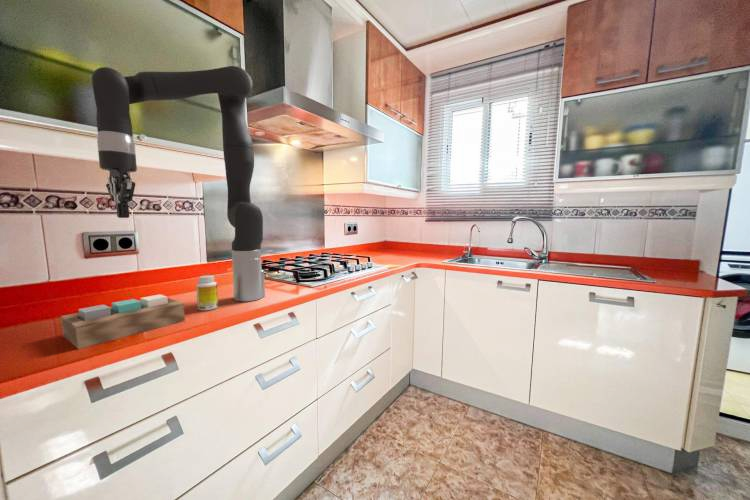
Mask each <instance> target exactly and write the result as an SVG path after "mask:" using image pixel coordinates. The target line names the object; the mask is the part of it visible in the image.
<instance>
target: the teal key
mask: <svg viewBox="0 0 750 500" xmlns="http://www.w3.org/2000/svg"><path fill="white" fill-rule="evenodd" d="M111 306H112V311H113V312H115V313H117V314H119V313H124V312H129V311H133V310H138V309H141V300H138V299H135V298H130V299H125V300H121V301H115V302H111Z"/></svg>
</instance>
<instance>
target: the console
mask: <svg viewBox="0 0 750 500" xmlns="http://www.w3.org/2000/svg"><path fill="white" fill-rule="evenodd" d="M184 305H185V304H184V302H181V301H179V300H175V299H173V298H169V297H168V303H167V304H162V305H157V306H152V307H148V308H147V307H144V306H142V305H141V309H138V310H133V311H129V312H124V313H119V314H117V313H115V312H113V311H112V305H111V306H109V307H110V309H111V315H110V316H105V317H100V318H96V319H91V320H86V321H82V320H81V319H79V312H76V313H75V312H74V313H71V314H66V315H61V316H60V318H61V319H60V321H61V328H62V337H63V338H64V339H65V340H67V341H68V342H69V343H70V344H72V345H73V347H76V349H78V350H81V349H85V348H88V347H92V346H96V345H100V344H103V343H107V342H111V341H115V340H118V339H122V338H126V337H129V336H134V335H137V334H140V333H144V332H145V333H146V332H149V331H152V330H156V329H159V328H163V327H167V326H170V325H174V324H178V323H182V322H185V320H186V319H185V318H186V317H185V306H184Z"/></svg>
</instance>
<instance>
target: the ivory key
mask: <svg viewBox="0 0 750 500" xmlns="http://www.w3.org/2000/svg"><path fill="white" fill-rule="evenodd" d="M168 298H169V297H168V296H166V295H164V294H162V293H161V294H160V293H159V294H155V295H149V296H143V297H140V301H141V305H142V306H144V307H147V308H148V307H152V306H157V305H162V304H167V303H168Z"/></svg>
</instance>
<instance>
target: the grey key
mask: <svg viewBox="0 0 750 500" xmlns="http://www.w3.org/2000/svg"><path fill="white" fill-rule="evenodd" d="M110 307H111V306H108V305H106V304H99V305H94V306H89V307H83V308H78V313H79V319H81V320H82V321H86V320H91V319H96V318H100V317H105V316H110V315H111V309H110Z"/></svg>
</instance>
